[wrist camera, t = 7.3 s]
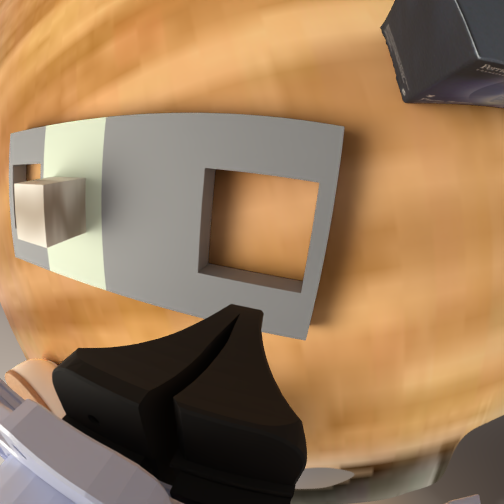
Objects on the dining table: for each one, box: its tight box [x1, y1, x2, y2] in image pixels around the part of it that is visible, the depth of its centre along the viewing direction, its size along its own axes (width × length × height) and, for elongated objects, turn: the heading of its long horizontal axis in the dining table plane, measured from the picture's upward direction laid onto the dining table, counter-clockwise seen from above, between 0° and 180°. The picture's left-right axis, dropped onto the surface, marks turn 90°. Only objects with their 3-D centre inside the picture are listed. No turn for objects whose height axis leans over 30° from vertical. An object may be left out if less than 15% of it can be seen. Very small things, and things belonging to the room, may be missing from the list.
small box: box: [380, 0, 504, 108], centre depth 8 cm, size 11×6×10 cm, turn 101°
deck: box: [9, 113, 344, 340], centre depth 21 cm, size 14×32×2 cm, turn 84°
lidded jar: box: [5, 359, 66, 419], centre depth 29 cm, size 11×11×9 cm
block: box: [14, 177, 86, 248], centre depth 19 cm, size 4×4×4 cm
